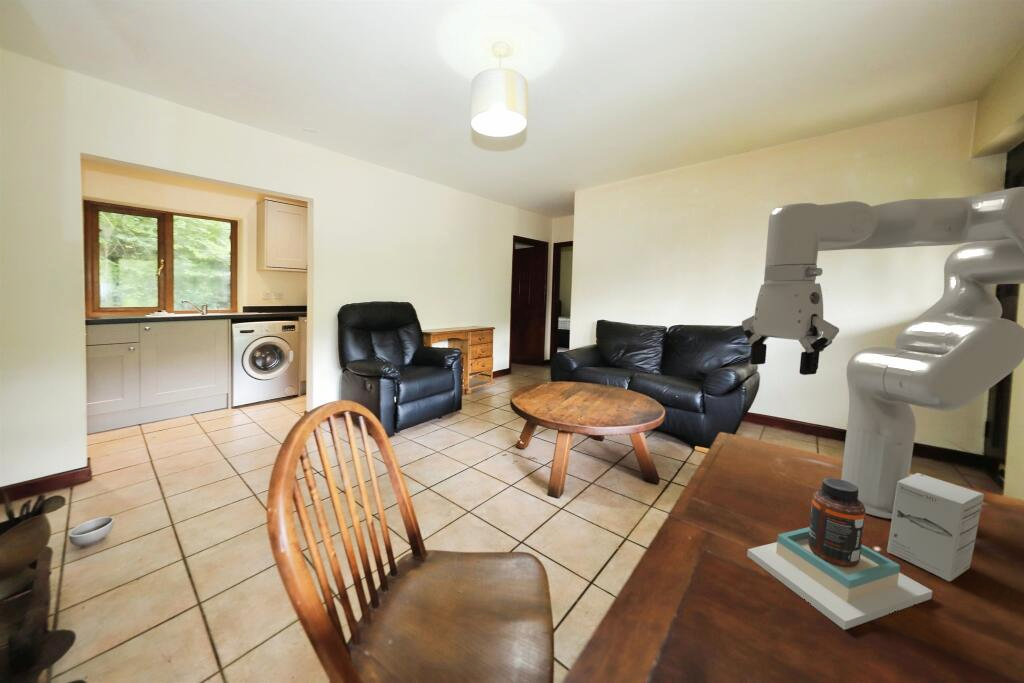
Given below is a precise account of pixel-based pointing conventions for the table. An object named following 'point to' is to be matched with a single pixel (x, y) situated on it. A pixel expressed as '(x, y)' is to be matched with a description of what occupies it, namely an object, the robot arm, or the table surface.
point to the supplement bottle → (837, 523)
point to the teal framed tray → (839, 580)
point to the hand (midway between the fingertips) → (781, 368)
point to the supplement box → (935, 525)
